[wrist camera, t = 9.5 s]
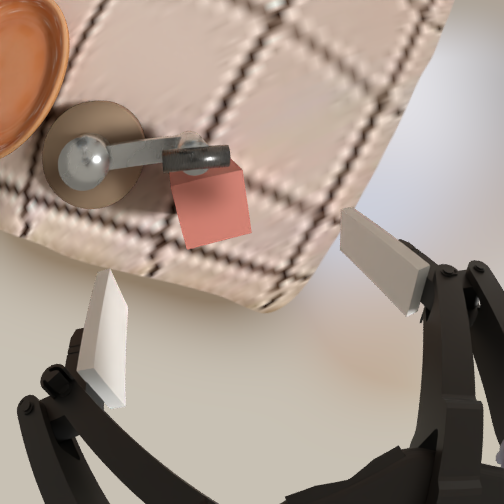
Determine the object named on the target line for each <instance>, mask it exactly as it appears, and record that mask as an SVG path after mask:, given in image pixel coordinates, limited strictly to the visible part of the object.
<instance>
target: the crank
mask: <svg viewBox="0 0 504 504" xmlns="http://www.w3.org/2000/svg"><path fill="white" fill-rule="evenodd" d="M156 163H163V173H169V172H178V171H183V172H184V173H186V174H188V175H192V176H197V175H201V174H203V173H205V172H206V171H207V170H209V169H210V168H223V167H229V166H230V149H229V146H228V145H217V146H208V144H207V143H206V142H205V141H204V140H203V139H202V138H201V137H200V136H199V135H198V134H197V133H195V132H192V131H186V132H183V133H181V134H180V135H176V136H166V137H157V138H148V139H140V140H133V141H126V142H120V143H113V144H110V143H109V141H108V140H107V139H106V138H105V137H103V136H102V135H100V134H97V133H86V134H83V135H81V136H79V137H77V138H75V139H73V140H71V141H70V142H69V143H67V144H66V145H65V146H64V148H63V149H62V151H61V153H60V155H59V159H58V170H59V174H60V176H61V178H62V180H63V181H64V183H65V184H66V185H68V186H69V187H70V188H72V189H75V190H79V191H86V190H90V189H93V188H94V187H96V186H97V185H99V184H100V183H101V182H102V180H103V179H104V177H105V176H106V174H107V173H108V171H109V170H113V169H119V168H126V167H133V166H140V165H148V164H156Z"/></svg>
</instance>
